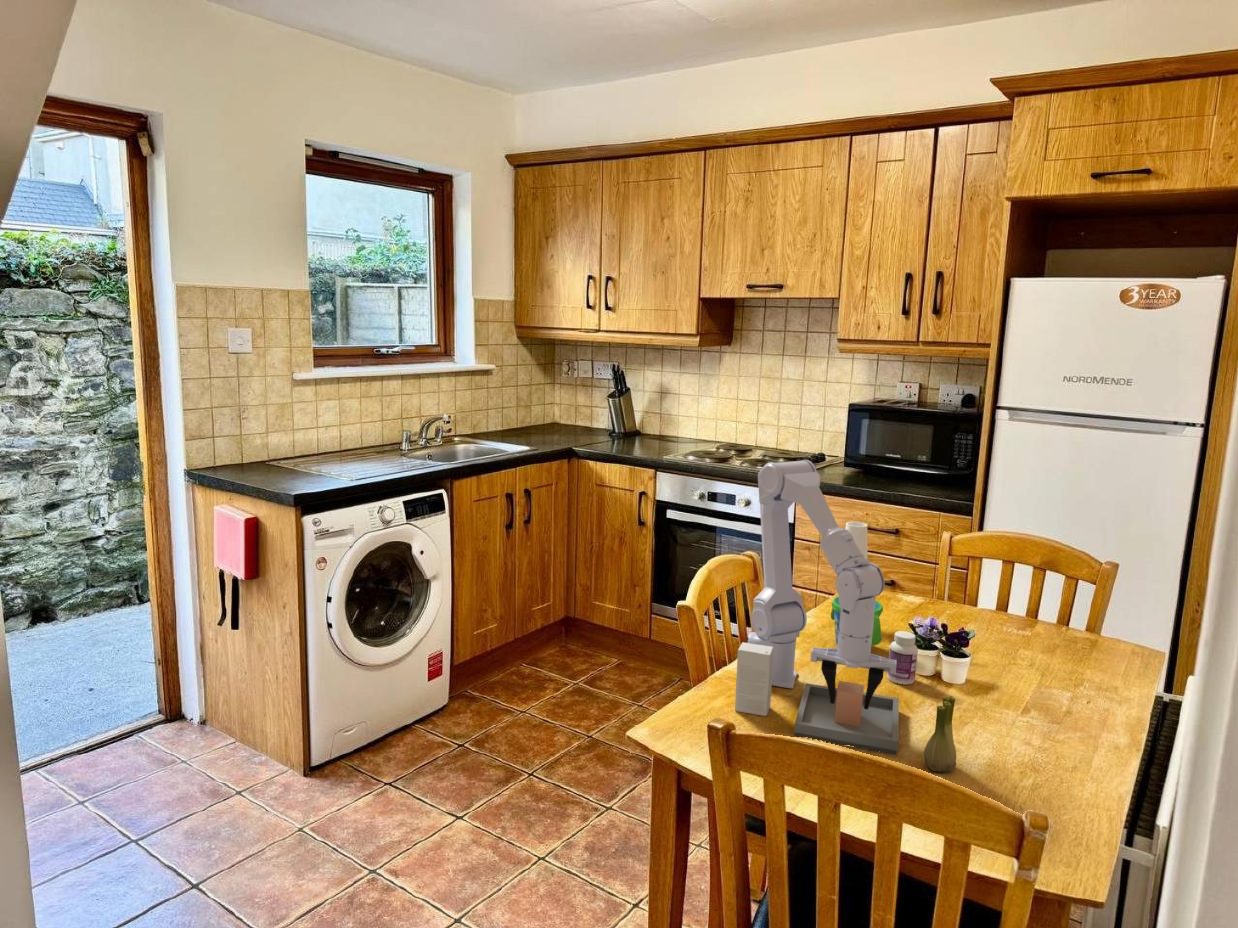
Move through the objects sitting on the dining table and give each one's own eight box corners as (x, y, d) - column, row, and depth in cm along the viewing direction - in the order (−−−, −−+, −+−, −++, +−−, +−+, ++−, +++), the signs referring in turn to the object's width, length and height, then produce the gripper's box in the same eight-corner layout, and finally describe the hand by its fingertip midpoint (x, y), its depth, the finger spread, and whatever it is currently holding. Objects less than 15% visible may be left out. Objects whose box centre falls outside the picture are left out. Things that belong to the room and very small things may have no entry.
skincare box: (770, 707, 159) (774, 646, 156) (766, 717, 155) (771, 655, 153) (738, 701, 161) (742, 641, 158) (733, 711, 157) (737, 649, 154)
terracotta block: (834, 722, 152) (837, 690, 151) (836, 711, 156) (839, 680, 155) (860, 726, 151) (862, 694, 150) (861, 715, 155) (864, 684, 154)
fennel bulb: (935, 778, 136) (943, 708, 134) (913, 763, 141) (920, 695, 138) (963, 771, 139) (971, 702, 136) (940, 756, 143) (948, 689, 141)
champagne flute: (857, 629, 198) (866, 529, 194) (829, 622, 202) (837, 524, 198) (866, 621, 204) (875, 523, 200) (839, 614, 208) (847, 518, 203)
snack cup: (894, 659, 182) (898, 614, 180) (848, 662, 180) (852, 616, 178) (857, 631, 197) (861, 589, 195) (815, 634, 195) (819, 591, 193)
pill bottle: (916, 686, 169) (921, 641, 167) (888, 683, 170) (892, 638, 168) (912, 675, 174) (917, 630, 173) (885, 672, 175) (890, 628, 174)
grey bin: (793, 736, 148) (794, 723, 148) (804, 695, 164) (805, 682, 164) (896, 755, 143) (898, 741, 143) (897, 710, 159) (898, 698, 158)
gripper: (811, 633, 149) (805, 706, 151) (898, 646, 144) (891, 721, 147) (815, 620, 155) (809, 689, 158) (899, 631, 151) (892, 703, 153)
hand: (849, 703), depth 153 cm, fingers open, 5 cm apart
